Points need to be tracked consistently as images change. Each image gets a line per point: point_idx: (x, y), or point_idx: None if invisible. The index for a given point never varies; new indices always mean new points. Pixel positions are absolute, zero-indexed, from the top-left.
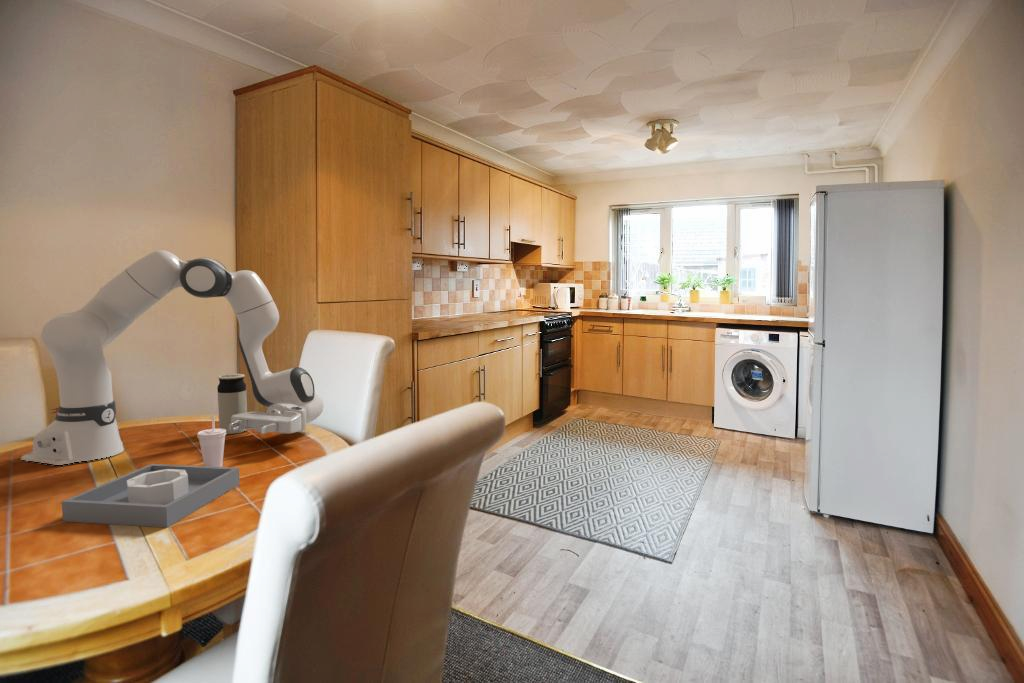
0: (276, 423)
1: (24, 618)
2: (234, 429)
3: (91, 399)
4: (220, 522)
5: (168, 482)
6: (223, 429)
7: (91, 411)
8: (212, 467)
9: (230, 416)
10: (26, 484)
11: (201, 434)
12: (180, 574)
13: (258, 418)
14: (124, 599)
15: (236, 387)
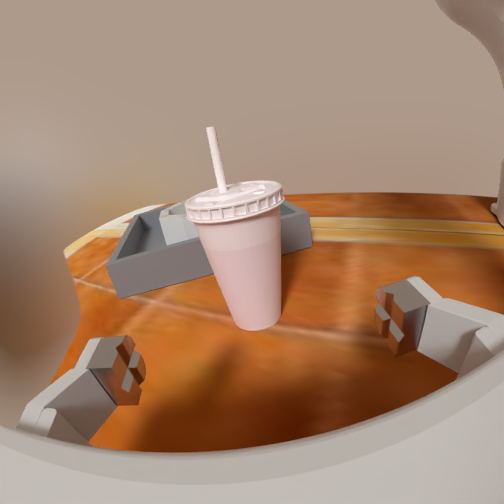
0: (19, 425)
1: (148, 207)
2: (379, 322)
3: None
4: (95, 255)
5: (167, 209)
6: (215, 205)
7: None
8: (161, 248)
9: None
10: (428, 197)
11: (238, 184)
12: (93, 233)
13: (279, 456)
14: (111, 222)
15: None
